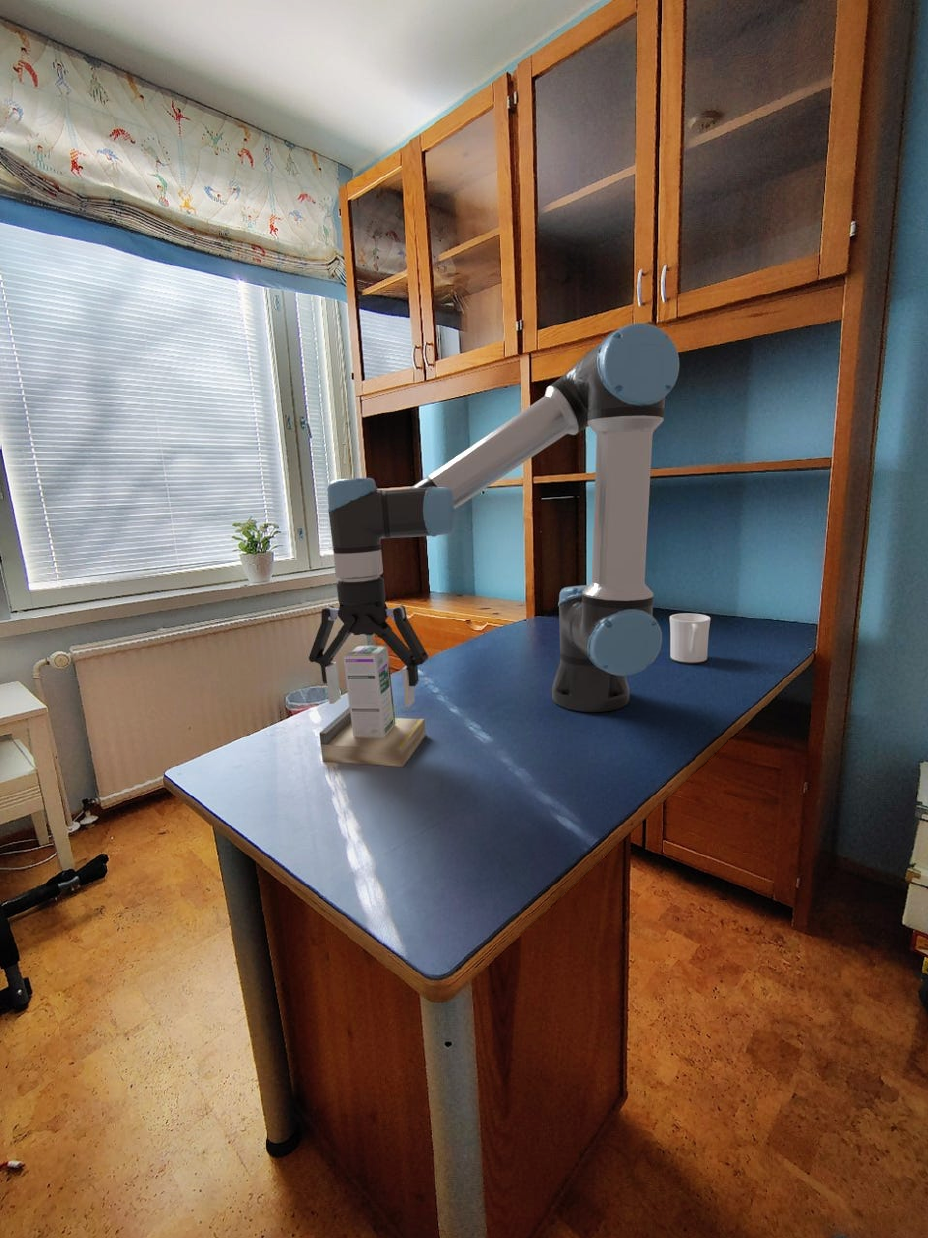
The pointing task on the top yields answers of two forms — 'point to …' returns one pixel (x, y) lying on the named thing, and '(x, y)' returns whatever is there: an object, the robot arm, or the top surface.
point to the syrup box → (369, 691)
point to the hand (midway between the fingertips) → (371, 702)
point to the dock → (371, 742)
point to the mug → (689, 638)
